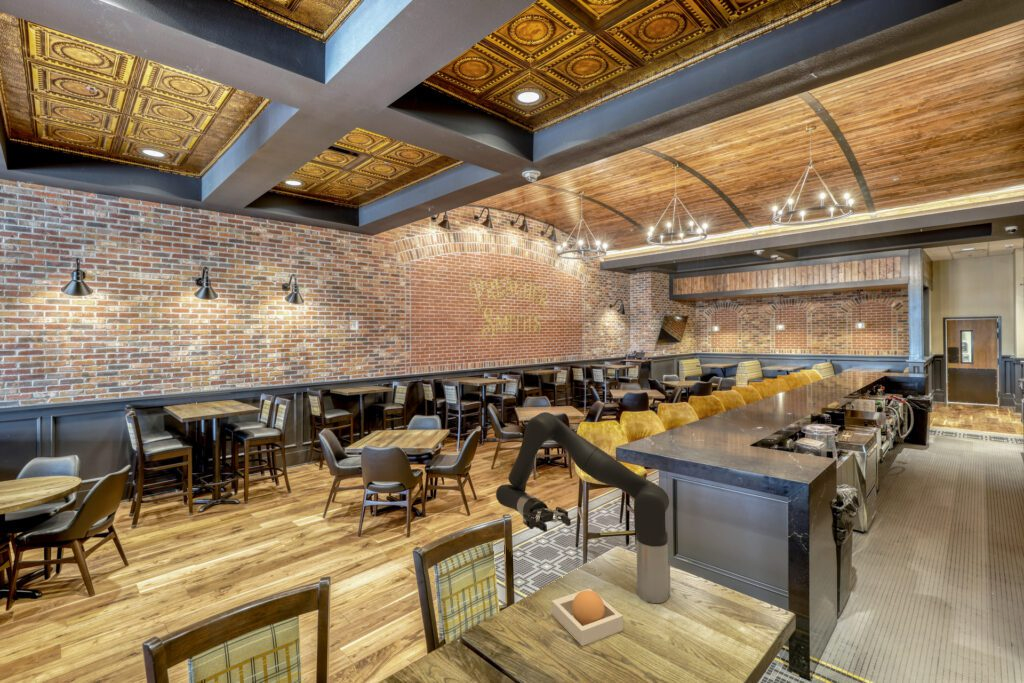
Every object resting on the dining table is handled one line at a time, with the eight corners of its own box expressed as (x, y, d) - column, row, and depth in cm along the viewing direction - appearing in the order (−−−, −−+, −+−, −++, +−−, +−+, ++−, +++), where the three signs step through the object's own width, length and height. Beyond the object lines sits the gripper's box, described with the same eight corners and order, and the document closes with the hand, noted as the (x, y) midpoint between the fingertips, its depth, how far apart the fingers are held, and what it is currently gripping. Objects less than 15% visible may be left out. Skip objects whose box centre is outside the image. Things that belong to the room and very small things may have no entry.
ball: (591, 580, 131) (611, 597, 123) (591, 610, 132) (611, 629, 124) (565, 588, 127) (584, 606, 119) (566, 619, 128) (584, 639, 120)
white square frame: (589, 601, 136) (589, 588, 136) (622, 630, 123) (622, 615, 123) (551, 614, 130) (551, 600, 130) (582, 646, 117) (581, 631, 117)
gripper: (513, 501, 150) (537, 518, 136) (549, 493, 157) (576, 508, 142) (513, 524, 150) (538, 543, 136) (550, 515, 157) (577, 532, 142)
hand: (557, 525), depth 139 cm, fingers open, 8 cm apart
